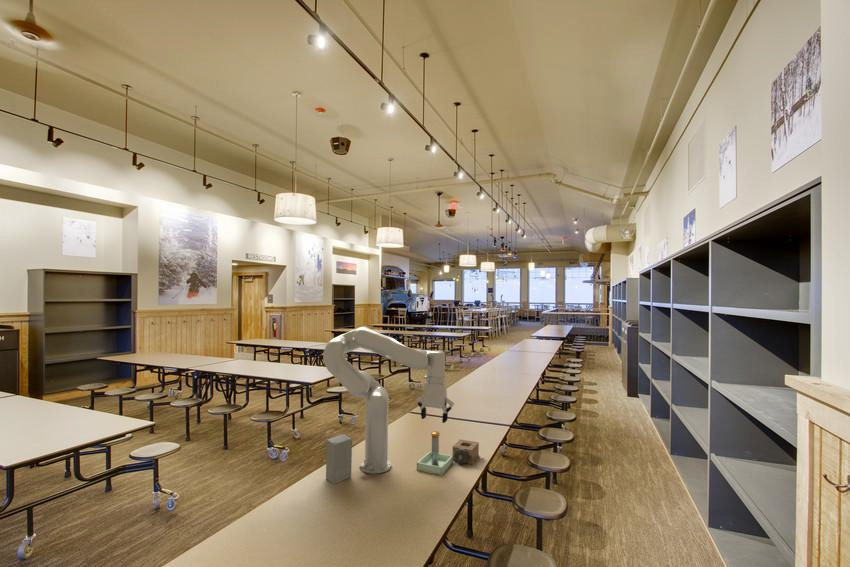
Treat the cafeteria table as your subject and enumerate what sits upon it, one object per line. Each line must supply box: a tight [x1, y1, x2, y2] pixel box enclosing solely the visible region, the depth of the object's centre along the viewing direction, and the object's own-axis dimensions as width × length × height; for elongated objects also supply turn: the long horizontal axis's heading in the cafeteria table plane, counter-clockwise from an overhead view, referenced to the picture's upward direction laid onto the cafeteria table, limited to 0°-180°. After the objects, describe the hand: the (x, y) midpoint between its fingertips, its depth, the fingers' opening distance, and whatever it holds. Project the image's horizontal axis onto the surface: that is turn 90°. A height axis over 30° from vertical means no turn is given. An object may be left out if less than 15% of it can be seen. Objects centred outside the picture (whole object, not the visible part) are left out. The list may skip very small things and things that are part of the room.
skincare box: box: [325, 433, 353, 485], centre depth 152 cm, size 8×7×16 cm
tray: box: [416, 451, 454, 476], centre depth 163 cm, size 13×11×3 cm
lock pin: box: [430, 430, 440, 466], centre depth 164 cm, size 4×4×14 cm
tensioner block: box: [452, 439, 480, 465], centre depth 171 cm, size 13×9×6 cm
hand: (433, 420), depth 164 cm, fingers open, 9 cm apart
